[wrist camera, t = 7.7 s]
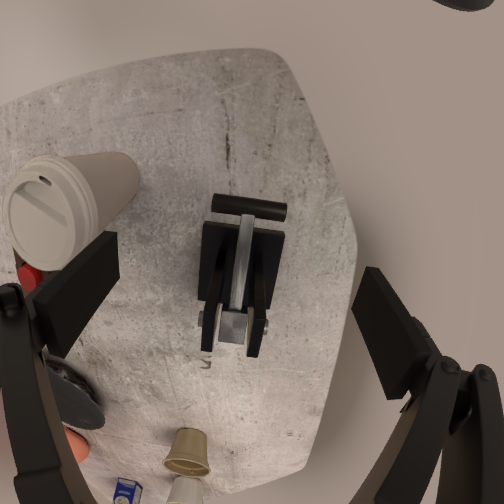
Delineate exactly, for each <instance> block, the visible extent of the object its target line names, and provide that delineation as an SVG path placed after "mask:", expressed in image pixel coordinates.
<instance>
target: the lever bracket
mask: <svg viewBox="0 0 504 504" xmlns="http://www.w3.org/2000/svg"><path fill="white" fill-rule="evenodd" d="M239 228H240V225H233V224H226V223H218V222H211V221H205V222H204V224H203V233H202V245H201V257H200V270H199V285H198V300H201V301H206V302H205V306H204V311H200V312H199V317H198V326H199V327H202V338H201V351H206V352H212V350H213V344H214V338H215V332H216V326H217V320H218V314H219V308H220V303H222V304H223V303H229V302H230V294H231V287H232V279H233V272H234V264H235V257H236V249H237V242H238V235H239ZM284 239H285V233H284V232H283V231H276V230H269V229H262V228H255V227H253V234H252V241H251V248H250V255H249V262H248V269H247V276H246V283H245V290H244V297H243V304H242V305H245V306H248V328H247V357H254V358H257V357H258V354H259V350H260V346H261V341H262V337H263V335H267V332H268V319H266V309H270V305H271V301H272V296H273V292H274V287H275V282H276V278H277V273H278V268H279V263H280V259H281V254H282V249H283V244H284Z"/></svg>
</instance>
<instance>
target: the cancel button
mask: <svg viewBox="0 0 504 504" xmlns="http://www.w3.org/2000/svg"><path fill="white" fill-rule="evenodd" d="M18 279H19V281H20V283H21V285H22V286H23V287H24V288H25V289H27V290H29V291H32V290H33V289H34V288H35V287H37V286H38V284H39V283H40V282H42V273H41V272H40V270H39V269H37V268H35V267H33V266H31V265H30V264H28V263H27V262H26V263H25V264H24V265H23V266H21V267H20V268H19V269H18Z"/></svg>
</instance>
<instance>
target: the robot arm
mask: <svg viewBox="0 0 504 504" xmlns="http://www.w3.org/2000/svg"><path fill="white" fill-rule="evenodd" d="M119 278H120V273H119V259H118V240H117V232H113V231H103V232H102V233H101V234H100V235H99V236H98V237H97V238H95V239H94V240H93V241H92V242H91V243H90V244H89V245H87V246H86V247H85V248H84V249H83V250H82V251H81V252H80V253H79V254H78V255H76V256H75V257H74V258H73V259H72V260H71V261H70V262H69V263H68V264H67V265H66V266H65V267H64V268H63V269H62V270H56V271H54V272H52V273H51V274H49V275H48V276H47V277H46V278H44V279H43V280H42V282H40V283H39V284H38V286H37V287H35V288H34V289H33V290H32V291H31V292H30V293H29V294H28V295H27V296H26V297H25V298H24V295H23V291H22V288H21V285H19V284H18V283H6V284H3V285H1V286H0V389H1V387H2V396H3V404H4V411H5V417H6V423H7V428H8V434H9V439H10V443H11V448H12V452H13V456H14V459H15V463H16V467H17V472H18V474H17V476H15V477H14V487H15V490H16V493H17V497H18V500H19V502H20V504H98V503H97V502H96V500H95V499H94V497H93V496H92V494H91V492H90V490H89V488H88V486H87V484H86V482H85V479H84V477H83V475H82V473H81V471H80V468H79V466H78V464H77V461H76V459H75V457H74V454H73V452H72V449H71V447H70V444H69V441H68V439H67V436H66V433H65V430H64V427H63V424H62V422H61V418H60V415H59V412H58V409H57V406H56V402H55V399H54V395H53V392H52V388H51V384H50V380H49V376H48V372H47V368H46V363H45V358H44V355H43V352H42V348H43V347H44V346H45V344H46V345H47V348H48V351H49V353H50V354H51V355H54V356H57V357H60V358H63V359H64V358H65V357H66V355H67V354H68V352H69V351H70V349H71V347H72V346H73V344H74V343H75V341H76V340H77V338H78V337H79V335H80V334H81V332H82V331H83V329H84V328H85V326H86V325H87V323H88V322H89V320H90V319H91V317H92V316H93V315H94V313H95V312H96V310H97V309H98V307H99V306H100V305H101V303H102V302H103V300H104V299H105V297H106V296H107V295H108V293H109V292H110V291H111V289H112V288H113V286H114V285H115V284H116V282H117V281H118V280H119ZM351 310H352V312H353V314H354V317H355V319H356V321H357V324H358V326H359V329H360V331H361V333H362V336H363V338H364V341H365V343H366V345H367V348H368V351H369V353H370V356H371V358H372V361H373V363H374V366H375V369H376V371H377V374H378V377H379V379H380V382H381V384H382V387H383V390H384V393H385V395H386V398H387V400H395V399H402V398H403V397H404V395H405V394H406V393H407V391H408V390H409V391H410V393H411V398H410V399H409V400H408V402H407V403H406V404H405V406H404V407H403V408H402V409H401V411H400V413H402V414H401V417H400V419H399V421H398V423H397V425H396V427H395V429H394V431H393V433H392V435H391V436H390V438H389V440H388V442H387V444H386V446H385V447H384V449H383V451H382V453H381V454H380V456H379V458H378V460H377V461H376V463H375V465H374V466H373V468H372V470H371V471H370V473H369V474H368V476H367V478H366V479H365V481H364V482H363V484H362V485H361V487H360V488H359V490H358V491H357V493H356V494H355V496H354V497H353V498H352V500H351V501H350V503H349V504H420V502H421V500H422V498H423V496H424V493H425V491H426V489H427V487H428V484H429V482H430V479H431V477H432V474H433V472H434V469H435V467H436V464H437V461H438V458H439V456H440V453H441V450H442V460H441V469H440V478H439V485H438V493H437V498H436V504H504V416H503V409H502V403H501V398H500V393H499V388H498V383H497V378H496V375H495V373H494V372H493V371H492V369H491V368H489V367H488V366H486V365H484V364H478V365H476V366H475V368H474V369H473V371H472V372H468V371H464V370H461V368H460V365H459V364H458V363H457V362H456V361H455V360H454V359H452V358H450V357H448V356H442V354H441V353H440V351H439V349H438V348H437V346H436V345H435V343H434V341H433V340H432V338H430V335H429V333H428V332H427V330H426V329H425V327H424V326H423V324H422V323H421V322H420V321H419V320H417V319H416V318H415V317H411V316H410V314H409V312H408V311H407V309H406V308H405V306H404V305H403V303H402V302H401V300H400V299H399V297H398V295H397V294H396V293H395V291H394V290H393V288H392V287H391V285H390V284H389V282H388V281H387V279H386V278H385V276H384V275H383V274H382V272H381V271H380V269H379V268H375V267H367V266H366V268H365V271H364V274H363V277H362V280H361V283H360V286H359V289H358V292H357V294H356V297H355V300H354V302H353V306H352V308H351Z"/></svg>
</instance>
